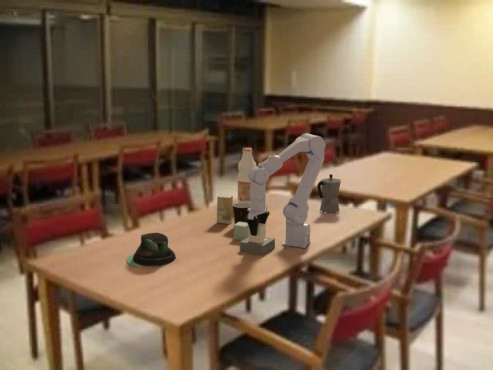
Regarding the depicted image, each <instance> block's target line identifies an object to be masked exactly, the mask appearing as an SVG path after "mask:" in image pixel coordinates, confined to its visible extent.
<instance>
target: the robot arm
mask: <svg viewBox="0 0 493 370" xmlns="http://www.w3.org/2000/svg"><path fill="white" fill-rule="evenodd" d="M326 147H327V145H326V142H325V140H324V139H323V137H322V136H319V135H314V134H310V133H308V132H304V133H302V134H301V135H300V136H298V137H297V138H295V140H294V141H293V142H292V143H291V144H290V145H288V146H287V147H286V148H285V149H283V150H282V151H281V152H280V153H278V154H277V155H276V154H272V155H271V154H269V155H268V157H267V159H266V160H264V161H262V162H261V163H258V165H257V166H256V167H253V168H251V169H250V171H249V174H248V178H249V179H250V181H251V187H250V208H248V211H249V214H248V217H246V218H245V220H246V222H247V224H248V226H249V229H250V234H251V235H252V236H257V231H258V225H259V223H261V224H266V225H267V221H268V218H269V216H270V213H271V212H270V211H268V205H267V204H266V194H267V193H266V190H267V189H266V183H267V182H268V180H269V178H270V176H271V175H274V174H275V172H277V171H278V170H280V169H282V167H283V163H285V162H286V161H288V160H289V159H291V158H292V157H294V156H296V155H297V154H298V153H301V152H304V153H306V156H307V158H308V162H307V164H306V167H305V168H304V169H305V170H304V171H303V174H302V177H301V179H300V182H299V183H298V185H297V189H296V191H295V193H294V195H293V196H292V197H291V198H290V199H288V202H287V204H286V205H285V206H284V207H283V209H282V214H283V216H284V217H285V239H284V241H283V242H282V243H281V245H282V246H287V247H295V248H303V249H305V248H307V246H309V245H310V244H311V224H310V223H308V222H307V223H306V221H307V219H308V215H309V214H308V213H309V209H310V207H309V202H308V201H309V198H310V196H311V194H312V191H313V189H314V186H315V184H316V181H317V179H318V176H319V173H320V171H321V169H322V166H323V164H324V161H325V149H326Z"/></svg>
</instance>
